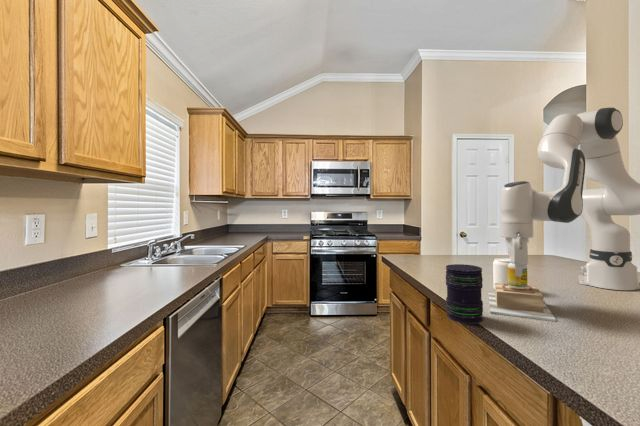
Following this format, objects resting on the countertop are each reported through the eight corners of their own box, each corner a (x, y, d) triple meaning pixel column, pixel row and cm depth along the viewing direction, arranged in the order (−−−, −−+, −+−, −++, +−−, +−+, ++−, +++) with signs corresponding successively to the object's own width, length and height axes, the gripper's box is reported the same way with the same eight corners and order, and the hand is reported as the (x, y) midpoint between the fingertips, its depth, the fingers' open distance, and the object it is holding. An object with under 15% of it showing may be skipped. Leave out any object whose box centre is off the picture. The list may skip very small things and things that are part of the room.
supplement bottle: (512, 284, 102) (512, 255, 102) (530, 287, 98) (530, 257, 97) (504, 286, 99) (504, 257, 99) (523, 290, 95) (522, 259, 94)
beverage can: (494, 287, 122) (494, 257, 122) (518, 289, 117) (518, 259, 117) (492, 291, 115) (491, 260, 115) (517, 295, 111) (517, 262, 110)
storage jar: (446, 321, 87) (446, 269, 86) (445, 310, 96) (444, 263, 96) (486, 325, 83) (485, 271, 83) (480, 313, 92) (479, 265, 92)
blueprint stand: (488, 294, 112) (488, 278, 112) (541, 299, 104) (541, 282, 104) (490, 313, 92) (490, 293, 92) (555, 321, 85) (555, 300, 85)
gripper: (533, 234, 87) (534, 282, 88) (524, 229, 106) (524, 268, 106) (508, 234, 90) (508, 280, 91) (503, 229, 108) (503, 267, 109)
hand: (517, 273), depth 98 cm, fingers closed on supplement bottle, 5 cm apart
